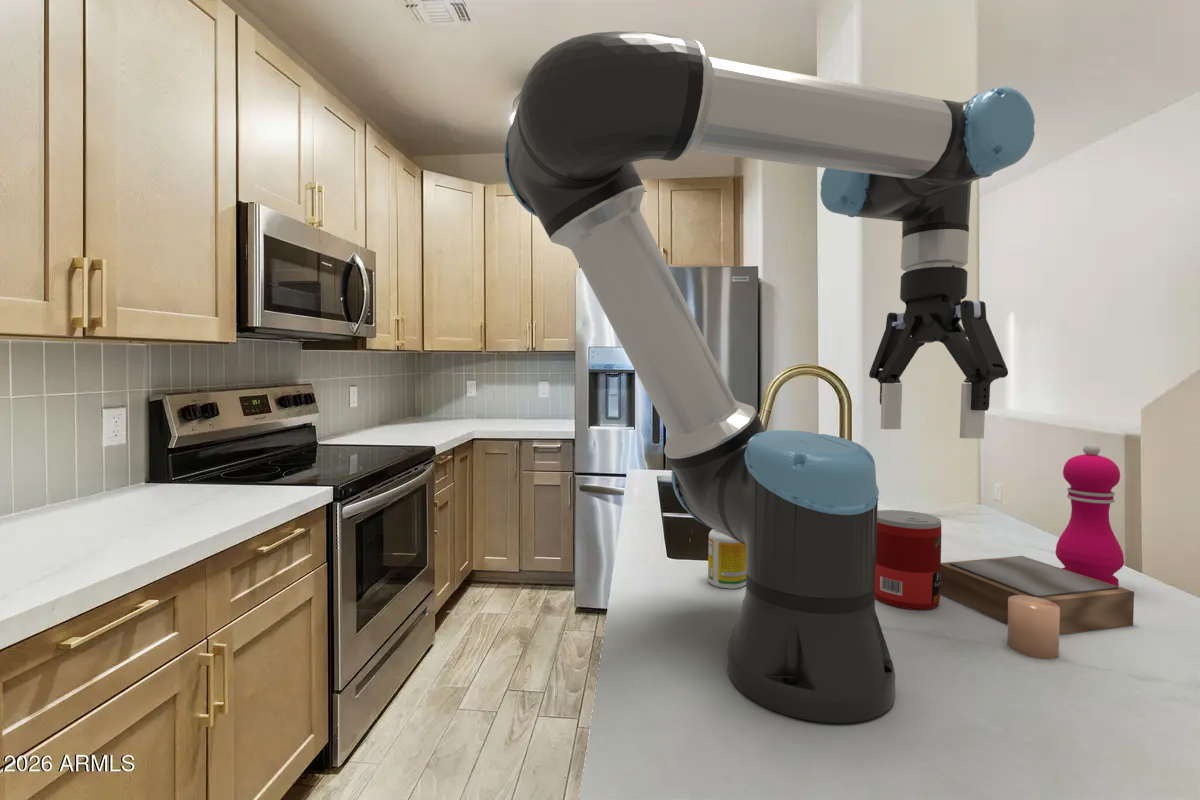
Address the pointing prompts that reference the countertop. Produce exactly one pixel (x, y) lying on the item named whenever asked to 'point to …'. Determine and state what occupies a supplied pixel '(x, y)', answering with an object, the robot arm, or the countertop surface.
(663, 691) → the countertop surface
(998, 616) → the wooden box
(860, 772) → the countertop surface
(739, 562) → the supplement bottle
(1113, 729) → the countertop surface
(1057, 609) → the peach pillar candle
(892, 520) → the canned food
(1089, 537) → the pepper mill
